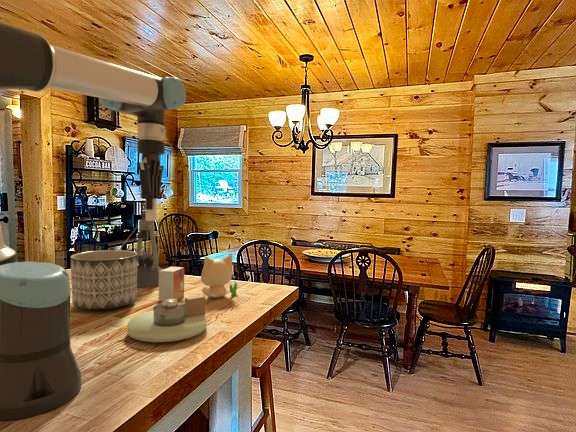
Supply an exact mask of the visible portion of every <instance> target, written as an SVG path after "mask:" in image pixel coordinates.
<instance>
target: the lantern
mask: <svg viewBox="0 0 576 432" xmlns="http://www.w3.org/2000/svg"><path fill="white" fill-rule="evenodd" d="M139 217H141V219H139V223H138V225H137V226H136V227H135V228H134V229H133V231H132V233H131V234H130V235H129V236H128V237H127V239H125V241H124V243H123V244H122V246H121V247H120V249H119V250H122V248H123V247H124V245H125V243H126V242H127V240H128V239H129V238H130V237H132V235H133V233H135V231H136V230H137V228H138V233H137V234H136V236H135V239H137V241H135V243H137V245H136V249H135V252H136V253H138V263H137V289H147V288H149V289H150V288H157V287H158V288H159V271H160V270H163V269H164V268H163V267H160V266H159V259H161V256H160V251H161V249H160V247H159V246H161V245H160V244H159V243H157V242H156V238H158V236H157V234H156V233H155V228H154V227H155V225H154V224H155V223H154V222H155V221H146V212H145V213H142V214H140V216H139ZM143 239H144V240H145V239H146V241H145V244H144V245H143V244H142V243H143ZM148 239H150V242H148ZM135 243H133V245H132V248H134V245H135ZM147 243H150V244H149V246H151V250H152V252H151V251H149V250H146V251H144V250H145V249H146V246H147ZM157 248H158V249H159V252H158V251H157Z"/></svg>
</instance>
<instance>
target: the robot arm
mask: <svg viewBox="0 0 576 432" xmlns="http://www.w3.org/2000/svg"><path fill="white" fill-rule="evenodd" d="M45 89H52V90H57V91H62V92H66V93H67V92H68V93H74V94H79V95H83V96H89V97H95V98H99V102H100V104H101V105H102V107H104V108H107V109H109V110H111V111H114V112H119V113H123V114H128V115H131V116H134V117H137V121H136V122H137V127H136V128H137V132H136V133H137V135H136V138H137V139H138V140H137V146H136V147H137V153H138V154H141V162H137V164H136V165H137V169H138V174H139V182H140V190H141V199H145V213H146V221H154V222H156V221H157V218H158V217H157V216H158V215H157V211H158V208H157V203H158V202H157V200H158V199H161V190H162V189H161V188H162V177H163V172H164V165H161V160H160V159H161V158H160V156H161V155H164V154H165V153H166V152H165V151H166V150H165V149H166V145H165V144H166V143H165V142H164V140H165V136H166V135H165V133H166V132H167V129H166V125H165V124H166V123H165V119H166V118H165V117H166V113H165V112H166V110H170V111H172V110H174V109H180V108H182V107H183V106H184V105H185V103H186V101H187V95H186V94H187V92H186V91H187V90H186V87H185V85H184V83H183V81H181V79H180V78H178V77H176V76H170V77H169V76H164V77H159V76H154V75H151V74H147V73H144V72H141V71H137V70H134V69H132V68H128V67H124V66H121V65H118V64H116V63H111V62H108V61H105V60H102V59H98V58H95V57H93V56H88V55H85V54H81V53H79V52H76V51H74V50H73V51H72V50H71V49H70V50H69V49H66V48H62V47H59V46H56V45H54V44H50V42H49V41H48V40H47V38H45V37H44V36H43V35H42V34H41V35H40V34H38V33H34V32H32V31H28V30H26V29H23V28H19V27H17V26H12V25H9V24H7V23H4V22H0V90H1V91H2V90H24V91H31V92H35V93H36V92H38V93H39V92H42V91H45ZM16 253H17V252H16V250H14V249H13V248H11V247H9V246H7V245H6V244H5V241H4V235H3V230H2V226H1V223H0V421H13V420H19V419H21V420H22V419H24V418H30V417H34V416H37V415H41V414H43V413H46V412H49V411H51V410H54V409H56V408H57V409H58V407H60V406H62V405H64V404H66V403H67V402H70V401H71V400H72V399H73V398H75V396H76V395H77V394H79V392H80V390H81V389H82V373H81V369H80V368H79V366H78V362H77V361H76V358H75V354H74V352H73V350H72V348H71V294H72V286H71V281H70V276H69V272H68V271H67V269H65V268H64V267H63V266H60V265H58V264H55V263H50V262H37V261H18V259H17V258H18V257H17V254H16Z"/></svg>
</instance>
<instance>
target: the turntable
mask: <svg viewBox="0 0 576 432" xmlns="http://www.w3.org/2000/svg"><path fill="white" fill-rule="evenodd" d="M184 304H185V305H186V306H185V322H184V323H182V324H180V325H177V326H171V327H161V326H156V325H155V324H154V309H153V310H149V311H146V312H142V313H139V314H137V315H134V316H132V318H130V319H129V320H128V321H127V334H128V336H129V337H130V338H132V339H133V340H134V339H135V340H137V341H141V342H147V343H169V342H177V341H181V340H186V339H189V338H192V337H195V336H198V335H199V334H201V333H203V332H204V331H205V330H206V329H207V325H208V324H207V322H208V321H207V320H208V319H207V318H208V317H207V315H206V295H205V296H204V294H200V295H193V296H191V295H190V296H184Z"/></svg>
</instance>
